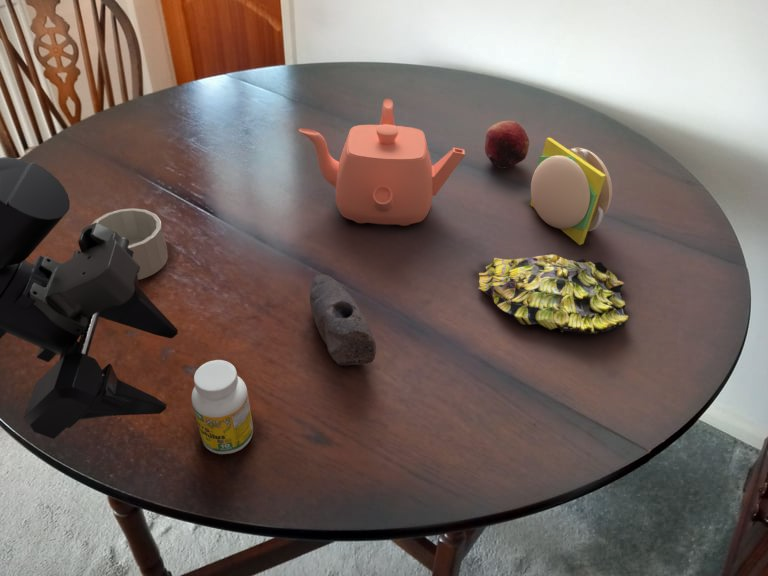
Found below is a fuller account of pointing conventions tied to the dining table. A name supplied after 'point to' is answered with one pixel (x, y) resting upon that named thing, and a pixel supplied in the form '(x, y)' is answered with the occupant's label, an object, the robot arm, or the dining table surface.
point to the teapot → (384, 171)
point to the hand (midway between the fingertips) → (169, 369)
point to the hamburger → (571, 189)
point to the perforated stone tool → (341, 323)
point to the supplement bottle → (221, 407)
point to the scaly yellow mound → (556, 293)
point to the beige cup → (140, 237)
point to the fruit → (506, 144)
